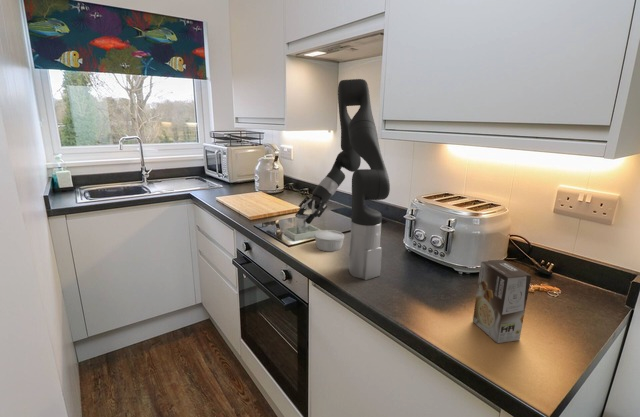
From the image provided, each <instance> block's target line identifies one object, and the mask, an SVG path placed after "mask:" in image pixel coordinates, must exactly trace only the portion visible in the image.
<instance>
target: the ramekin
mask: <svg viewBox="0 0 640 417" xmlns="http://www.w3.org/2000/svg"><path fill="white" fill-rule="evenodd" d="M314 239H315V245H316V248H317V249H319V250H320V251H322V252H331V253H332V252H337V251H339V250H341V248H343V243H344V239H345V234H344V233H343V232H341V231H338V230H334V229H325V230H324V229H323V230H322V229H321V231H318V232H316V233H315V237H314Z"/></svg>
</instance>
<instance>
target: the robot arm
mask: <svg viewBox="0 0 640 417" xmlns="http://www.w3.org/2000/svg"><path fill="white" fill-rule="evenodd" d="M369 89H370V88H369V85H368V82H367V81H366V79H362V78H353V79H350V78H349V79H341V80H340V81H339V82H338V86H337V100H338V101H337V102H338V114H339V116H338V117H339V124H340V148H341V151H340V152H339V153H338V154H337V155H336V158H335V160H334V163H333V165H332V168H331V169H330V171H328V173H327V175H325V177H323V179H322V180H321V181H320V182H319V183H318V185H317V186H316V187H315V188H314V190H313V191H312V192H311V193H312V196H311V197H310V196H308V195H307V196H305V198H303V199H302V201H301V202H300V203H299V205H298V208H299V210H298V211H297V212H296V213H295V215H294V216H295V217H296V215H297V214H305V212H306V211H309V210H311V213H309V214H308V215H309V216H308V218H307V219H306V220H305V222H306V223H308V224H310V225H311V223H312V222H313V220H314V219H315V218H320V217H321V216H322V214H324V212H325V210H326V209H327V208H328V205H327V203H328V202H329V201H330V199H331V198H332V197H333V196H334V195H335V194H336V192H337V190H338V188H339V187H340V186H341V185H342V183H343V182H344V181H345V179H346V175H345V173H344V172H343V171H342V170H341V169H342V168H343V169H344V170H347V171H348V172H351V173H352V176H351V218H350V219H351V220H350V222H351V223H350V243H349V266H348V267H349V268H348V271H349V272H348V273H349V274H350V276H353V277H354V278H357V279H362V280H364V281H367V280H370V279H371V280H372V279H373V278H377V277H380V276H381V271H382V270H381V269H382V268H381V267H382V253H383V252H382V251H383V247H381V232H382V222H383V221H382V220H383V215H382V213H381V212H380V211H379V210H376V209H374V208H372V207H368V206H367V205H365V201H382V200H386V199H387V198H388V197H389V195H390V191H391V184H390V177H389V174H388V171H387V167H386V164H385V161H384V159H383V155H382V153H381V147H380V144H379V142H380V141H379V138H378V132H377V126H376V123H375V119H374V116H373V110H372V106H371V105H372V104H371V98H370V90H369ZM353 106H354V107H355V106H358V110H357V112H355V113H354V116H353V117H352V118H351V116H350V115H349V113H348V112H349V111H348V107H353ZM361 159H362V160H364V162H366V164H367V165H368V166H369V168H365V169H363V168H360V167H361V163H362V162H361V161H362V160H361Z"/></svg>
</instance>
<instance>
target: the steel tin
mask: <svg viewBox="0 0 640 417" xmlns="http://www.w3.org/2000/svg"><path fill="white" fill-rule="evenodd" d="M295 215H296V214H295ZM309 215H310V214H308V213H303V214H297V215H296V216H295V218H296V226H297V234H301V233H307V232H309V224H308V223H306V222H305V220H306V219H307V218H308V216H309Z"/></svg>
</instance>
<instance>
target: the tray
mask: <svg viewBox="0 0 640 417" xmlns="http://www.w3.org/2000/svg"><path fill="white" fill-rule="evenodd" d="M318 231H322V229H320V228H318V227H316V226H313V225H312V224H311V223H310V224H309V232H307V233H301V234H297V225H296V226H291V227H285V228H283V235H284V236H285V237H288V238H289V239H291V240H292V241H293V242H298V241H303V240H308V239H313V238H315V233H316V232H318Z"/></svg>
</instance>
